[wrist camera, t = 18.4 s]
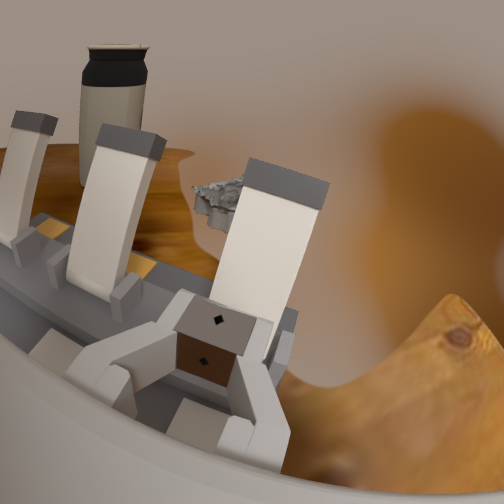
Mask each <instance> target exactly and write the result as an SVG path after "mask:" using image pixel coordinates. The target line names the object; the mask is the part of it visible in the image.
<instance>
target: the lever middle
mask: <svg viewBox="0 0 504 504" xmlns="http://www.w3.org/2000/svg"><path fill="white" fill-rule="evenodd" d="M166 142H167V140H165V139H164V138H162V137H160V136H159V135H157V134H154V133H149V132H144V131H140V130H135V129H130V128H126V127H120V126H115V125H110V124H105V123H102V125H101V128H100V131H99V134H98V137H97V139H96V142H95V144H97V145H98V146H97V149H96V152H95V155H94V158H93V161H92V165H91V168H90V171H89V175H88V178H87V181H86V185H85V189H84V192H83V196H82V200H81V204H80V208H79V212H78V216H77V220H76V225H75V229H74V234H73V239H72V244H71V249H70V254H69V259H68V265H67V271H66V280H67V281H68V282H70V283H71V284H73V285H75V286H77V287H79V288H81V289H83V290H85V291H87V292H89V293H91V294H93V295H95V296H97V297H99V298H101V299H103V300H105V301H107V302H109V303H110V296H109V294H110V293H111V292H112V291H113V290H114V289H115V288H116V287H117V286H118V285H119V284H120V282H121V281H122V280H123V279H124V277H125V272H126V268H127V264H128V260H129V256H130V252H131V248H132V244H133V240H134V236H135V232H136V228H137V225H138V221H139V218H140V214H141V211H142V207H143V204H144V200H145V197H146V194H147V190H148V187H149V184H150V181H151V178H152V174H153V171H154V168H155V165H156V162H157V161H159V162H160V159H161V156H162V153H163V150H164V148H165V145H166Z"/></svg>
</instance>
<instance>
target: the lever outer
mask: <svg viewBox="0 0 504 504" xmlns="http://www.w3.org/2000/svg"><path fill="white" fill-rule="evenodd" d="M241 184H244V185H243V188H242V192H241V195H240V198H239V201H238V204H237V207H236V211H235V214H234V217H233V220H232V224H231V227H230V230H229V233H228V237H227V240H226V243H225V247H224V250H223V253H222V256H221V260H220V263H219V266H218V270H217V273H216V276H215V280H214V283H213V286H212V290H211V293H210V297H209V299H211V300H213V301H216V302H218V303H221V304H223V305H226V306H229V307H232V308H235V309H238V310H241V311H244V312H247V313H250V314H253V315H256V316H259V317H262V318H265V319H268V320H271V321H274V325H273V328H272V332H271V335H270V338H269V341H268V344H267V347H266V350H265V353H264V356H263V359H265V358H266V355H267V353H268V350H269V348H270V345H271V342H272V340H273V337H274V335H275V332H276V329H277V327H278V324H279V322H280V319H281V316H282V314H283V311H284V308H285V305H286V303H287V300H288V297H289V295H290V292H291V289H292V286H293V284H294V281H295V278H296V275H297V273H298V270H299V267H300V264H301V261H302V258H303V256H304V252H305V250H306V247H307V244H308V241H309V238H310V235H311V232H312V229H313V226H314V223H315V220H316V217H317V214H318V211H319V209H320V210H321V209H322V206H323V203H324V200H325V197H326V194H327V191H328V188H329V184H330V183H328V182H326V181H323V180H320V179H317V178H314V177H311V176H308V175H305V174H302V173H298V172H296V171H292V170H290V169H286V168H283V167H280V166H277V165H274V164H270V163H267V162H264V161H260V160H257V159H253V158H249V161H248V164H247V167H246V171H245V173H244V176H243V179H242V183H241ZM257 318H258V317H257ZM263 359H262V361H263ZM261 363H262V362H261Z"/></svg>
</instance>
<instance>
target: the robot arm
mask: <svg viewBox="0 0 504 504" xmlns="http://www.w3.org/2000/svg"><path fill="white" fill-rule="evenodd" d="M257 317H258V318H257ZM273 325H274V321H271V320H268V319H265V318H262V317H259V316H256V315H253V314H250V313H247V312H244V311H241V310H238V309H235V308H232V307H229V306H226V305H223V304H221V303H218V302H216V301H213V300H211V299H208V298H206V297H203V296H201V295H198V294H195V293H192V292H190V291H187V290H185V289H183V288H182V289H180V290H179V291H178V292H177V293H176V295H175V296H174V297H173V299H172V300H171V302H170V303H169V304H168V306H167V307H166V309H165V310H164V312H163V313H162V314H161V316H160V317H159V319H158V320H157V322H156V323H155V322H153V321H150V322H148V323H145V324H142V325H140V326H137V327H135V328H132V329H130V330H127V331H125V332H122V333H119V334H117V335H114V336H112V337H109V338H106V339H104V340H101V341H99V342H96V343H93V344H91V345H88V346H85V348H84V349H83V350H82V351H81V353H80V354H79V355H78V356H77V358H76V359H75V360H74V362H73V363H72V364H71V365H70V367H69V368H68V369H67V371H66V372H65V373H64V374H63V376H62V377H59V376H58V375H56V374H55V373H53V372H52V371H50V370H49V369H47V368H46V367H45V366H43V365H42V364H40V363H39V362H37V361H36V360H35V359H33V358H32V357H31V356H29V355H28V354H26V353H25V352H24V351H22V350H21V349H20V348H19V347H17V346H16V345H15V344H13V343H12V342H11V341H10V340H8V339H7V338H6V337H5V336H3V335H2V334H1V333H0V504H504V490H499V491H489V492H477V493H460V494H414V493H396V492H384V491H373V490H365V489H357V488H350V487H343V486H337V485H331V484H325V483H320V482H315V481H310V480H305V479H301V478H296V477H292V476H288V475H283V474H280V472H281V468H282V465H283V461H284V457H285V453H286V450H287V446H288V442H289V438H290V434H291V431H290V428H289V425H288V423H287V420H286V418H285V415H284V412H283V410H282V407H281V404H280V402H279V399H278V396H277V394H276V391H275V388H274V386H273V383H272V380H271V377H270V375H269V372H268V369H267V367H266V365H265V364H262V363H261V362H262V359H263V356H264V353H265V350H266V347H267V344H268V341H269V338H270V335H271V332H272V328H273ZM175 368H177V369H180V370H182V371H185V372H187V373H190V374H193V375H195V376H198V377H201V378H203V379H205V380H208V381H210V382H213V383H215V384H218V385H220V386H223V387H225V388H227V389H226V390H227V395H228V399H229V404H230V409H231V413H232V417H229V418H228V421H227V423H226V425H225V428H224V430H223V433H222V435H221V438H220V440H219V442H218V445H217V447H216V450H215V452H214V453H211V452H209V451H206V450H203V449H201V448H198V447H195V446H193V445H190V444H188V443H185V442H183V441H180V440H178V439H176V438H173V437H171V436H169V435H166V434H164V433H162V432H160V431H157V430H155V429H153V428H151V427H149V426H147V425H144V424H142V423H140V422H138V421H136V420H134V419H135V418H136V416H137V414H138V412H137V407H136V403H135V398H134V393H135V392H137V391H139V390H141V389H143V388H144V387H146V386H148V385H150V384H151V383H153V382H155V381H157V380H158V379H160V378H162V377H163V376H165V375H167V374H169V373H170V372H172V371H174V370H175Z"/></svg>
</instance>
